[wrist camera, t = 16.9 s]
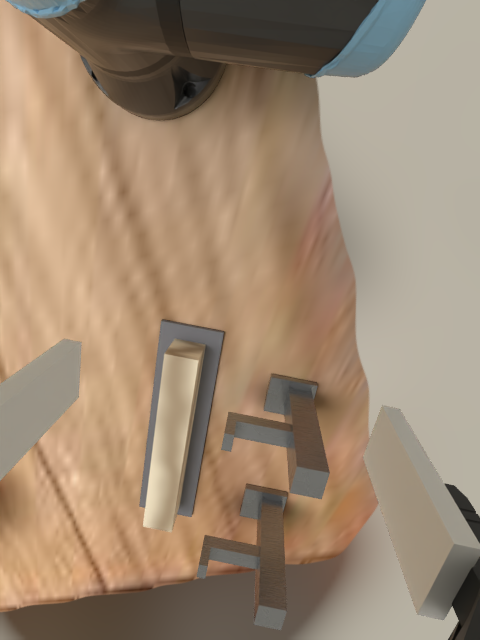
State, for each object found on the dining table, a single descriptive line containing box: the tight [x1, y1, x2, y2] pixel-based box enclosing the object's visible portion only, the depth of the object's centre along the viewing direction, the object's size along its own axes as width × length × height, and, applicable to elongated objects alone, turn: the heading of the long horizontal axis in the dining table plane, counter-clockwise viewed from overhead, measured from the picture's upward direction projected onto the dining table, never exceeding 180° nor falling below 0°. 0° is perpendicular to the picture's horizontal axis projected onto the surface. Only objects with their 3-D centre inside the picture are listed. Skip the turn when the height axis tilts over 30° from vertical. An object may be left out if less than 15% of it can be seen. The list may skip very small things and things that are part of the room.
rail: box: [143, 339, 206, 532], centre depth 49 cm, size 4×26×5 cm, turn 170°
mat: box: [139, 319, 224, 517], centre depth 52 cm, size 8×30×1 cm, turn 170°
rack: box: [197, 374, 329, 630], centre depth 45 cm, size 10×23×16 cm, turn 170°
